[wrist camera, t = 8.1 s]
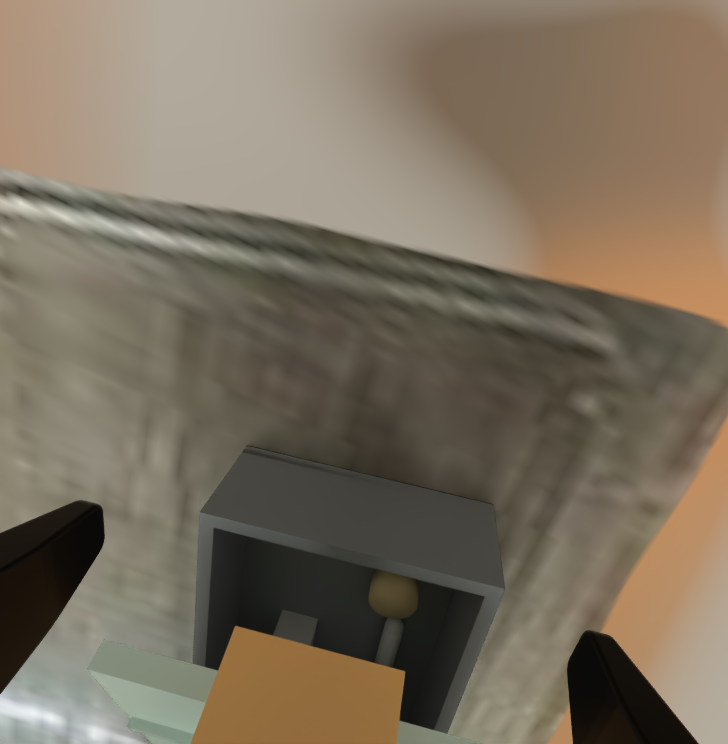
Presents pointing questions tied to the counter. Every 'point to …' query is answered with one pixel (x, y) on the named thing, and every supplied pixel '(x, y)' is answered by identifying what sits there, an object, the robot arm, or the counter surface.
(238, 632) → the lid
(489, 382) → the counter surface
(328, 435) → the counter surface
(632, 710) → the robot arm
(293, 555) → the parts tub
